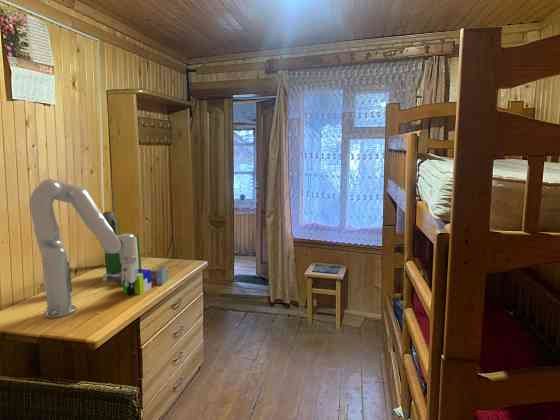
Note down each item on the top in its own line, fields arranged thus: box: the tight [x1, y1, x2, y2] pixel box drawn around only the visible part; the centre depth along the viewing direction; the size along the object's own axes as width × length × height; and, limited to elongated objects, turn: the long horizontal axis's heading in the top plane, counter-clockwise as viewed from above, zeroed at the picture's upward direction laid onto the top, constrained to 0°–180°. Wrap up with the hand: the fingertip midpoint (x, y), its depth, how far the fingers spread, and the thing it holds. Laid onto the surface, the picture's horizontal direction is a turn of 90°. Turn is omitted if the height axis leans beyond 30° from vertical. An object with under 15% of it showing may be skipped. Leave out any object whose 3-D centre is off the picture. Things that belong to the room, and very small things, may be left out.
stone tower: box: [102, 210, 119, 235], centre depth 247 cm, size 9×12×35 cm
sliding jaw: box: [102, 270, 123, 287], centre depth 211 cm, size 9×12×8 cm
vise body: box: [113, 265, 169, 286], centre depth 212 cm, size 12×30×8 cm, turn 92°
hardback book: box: [103, 234, 142, 280], centre depth 222 cm, size 18×7×24 cm, turn 84°
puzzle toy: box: [122, 268, 152, 295], centre depth 199 cm, size 10×10×10 cm
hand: (131, 294), depth 190 cm, fingers closed
